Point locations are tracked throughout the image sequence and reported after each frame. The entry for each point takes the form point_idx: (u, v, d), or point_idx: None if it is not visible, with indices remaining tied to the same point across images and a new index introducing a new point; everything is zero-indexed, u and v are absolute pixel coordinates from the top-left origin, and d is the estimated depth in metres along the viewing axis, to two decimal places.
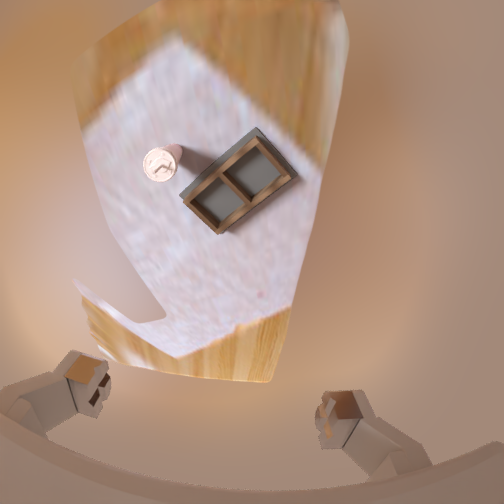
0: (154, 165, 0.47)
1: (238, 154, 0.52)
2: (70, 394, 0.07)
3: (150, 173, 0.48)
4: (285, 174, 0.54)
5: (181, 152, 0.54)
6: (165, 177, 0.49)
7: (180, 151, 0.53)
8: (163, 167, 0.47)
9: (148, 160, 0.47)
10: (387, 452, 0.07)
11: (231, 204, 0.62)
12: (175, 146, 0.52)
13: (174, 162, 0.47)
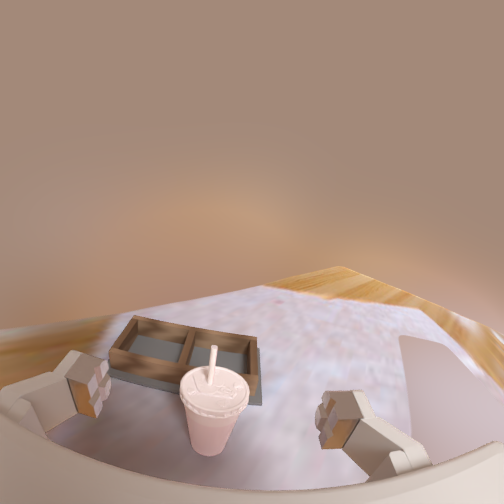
0: (220, 391, 0.23)
1: (140, 358, 0.33)
2: (70, 394, 0.07)
3: (240, 392, 0.24)
4: (133, 319, 0.42)
5: None
6: (226, 374, 0.26)
7: None
8: None
9: (221, 404, 0.22)
10: (387, 452, 0.07)
11: None
12: None
13: (190, 371, 0.25)
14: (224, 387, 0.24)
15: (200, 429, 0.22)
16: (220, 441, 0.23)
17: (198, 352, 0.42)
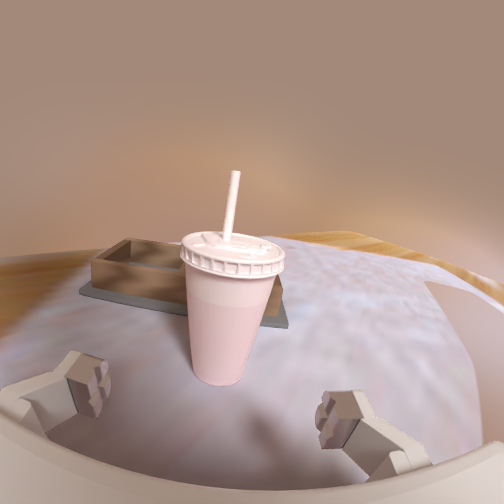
0: (242, 245, 0.17)
1: (129, 266, 0.27)
2: (70, 394, 0.07)
3: (272, 251, 0.17)
4: (125, 240, 0.35)
5: None
6: None
7: None
8: None
9: (245, 256, 0.15)
10: (387, 452, 0.07)
11: None
12: (190, 339, 0.19)
13: (197, 233, 0.19)
14: (248, 243, 0.17)
15: (209, 318, 0.16)
16: (240, 347, 0.17)
17: None
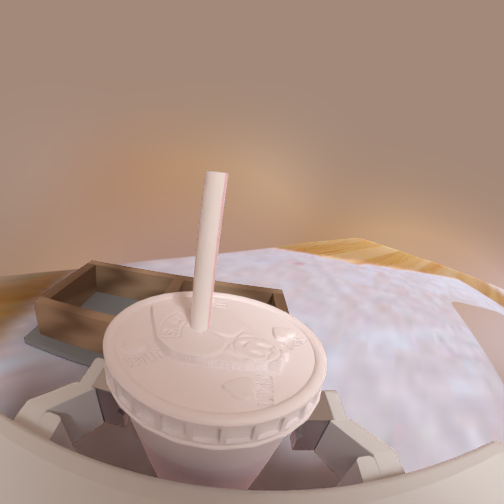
0: (234, 350, 0.07)
1: (80, 312, 0.17)
2: (98, 404, 0.07)
3: (299, 352, 0.08)
4: (89, 264, 0.26)
5: None
6: (246, 312, 0.10)
7: None
8: None
9: (240, 395, 0.06)
10: (357, 457, 0.06)
11: None
12: None
13: (147, 301, 0.09)
14: (247, 338, 0.08)
15: (174, 473, 0.06)
16: None
17: None
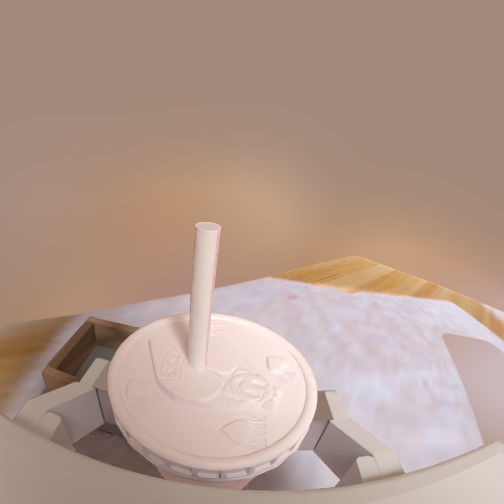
0: (231, 390, 0.07)
1: None
2: (98, 404, 0.07)
3: (291, 386, 0.08)
4: (87, 322, 0.26)
5: None
6: (241, 335, 0.10)
7: None
8: None
9: (237, 438, 0.06)
10: (357, 457, 0.06)
11: None
12: None
13: (144, 329, 0.09)
14: (242, 375, 0.08)
15: None
16: None
17: None
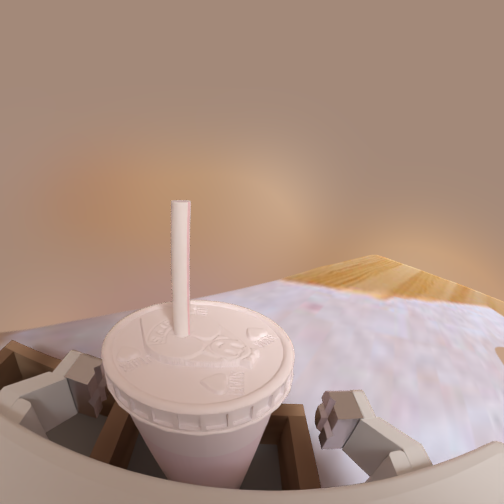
0: (211, 351, 0.08)
1: None
2: (70, 394, 0.07)
3: (269, 349, 0.09)
4: (5, 350, 0.13)
5: None
6: (225, 316, 0.11)
7: None
8: None
9: (215, 388, 0.07)
10: (387, 452, 0.07)
11: None
12: None
13: (137, 313, 0.10)
14: (222, 339, 0.09)
15: (172, 462, 0.08)
16: (230, 481, 0.09)
17: None
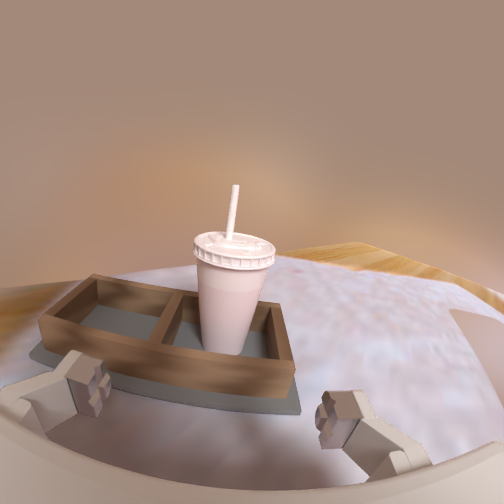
0: (242, 244, 0.21)
1: (84, 331, 0.18)
2: (70, 394, 0.07)
3: (265, 247, 0.22)
4: (90, 279, 0.26)
5: None
6: None
7: None
8: None
9: (245, 253, 0.20)
10: (387, 452, 0.07)
11: None
12: (200, 320, 0.23)
13: (204, 234, 0.23)
14: (246, 242, 0.22)
15: (218, 301, 0.21)
16: (241, 324, 0.22)
17: (187, 329, 0.27)
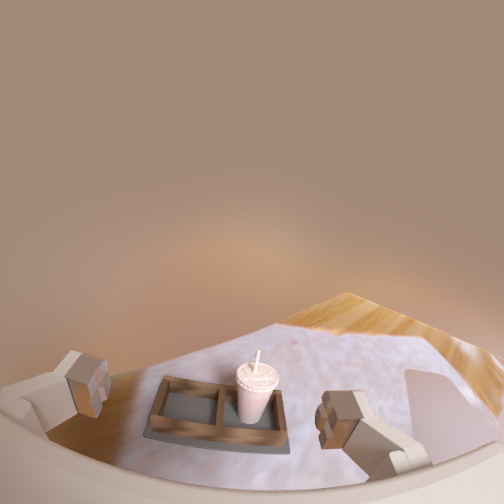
0: (262, 376, 0.39)
1: (181, 423, 0.35)
2: (70, 394, 0.07)
3: (273, 375, 0.40)
4: (165, 380, 0.43)
5: None
6: (261, 366, 0.42)
7: None
8: None
9: (264, 383, 0.37)
10: (387, 452, 0.07)
11: None
12: (238, 407, 0.40)
13: (240, 367, 0.41)
14: (263, 373, 0.39)
15: (250, 403, 0.38)
16: (261, 410, 0.39)
17: (228, 407, 0.43)
